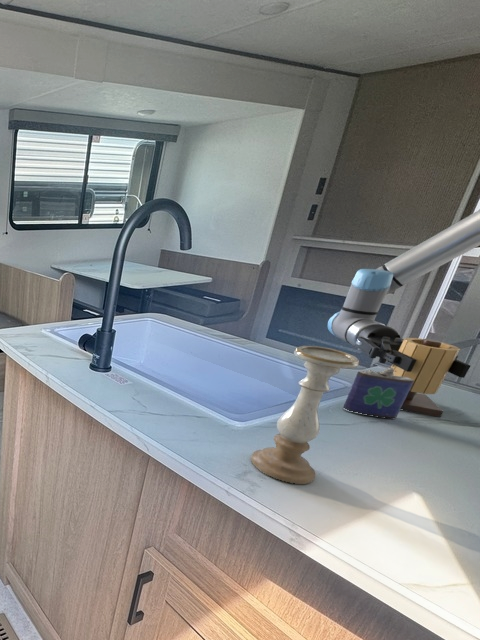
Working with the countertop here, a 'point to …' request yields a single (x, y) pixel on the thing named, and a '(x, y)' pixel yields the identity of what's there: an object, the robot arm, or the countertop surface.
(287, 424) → the candle holder
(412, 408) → the stand
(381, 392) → the flask
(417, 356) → the wooden container
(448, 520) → the countertop surface
